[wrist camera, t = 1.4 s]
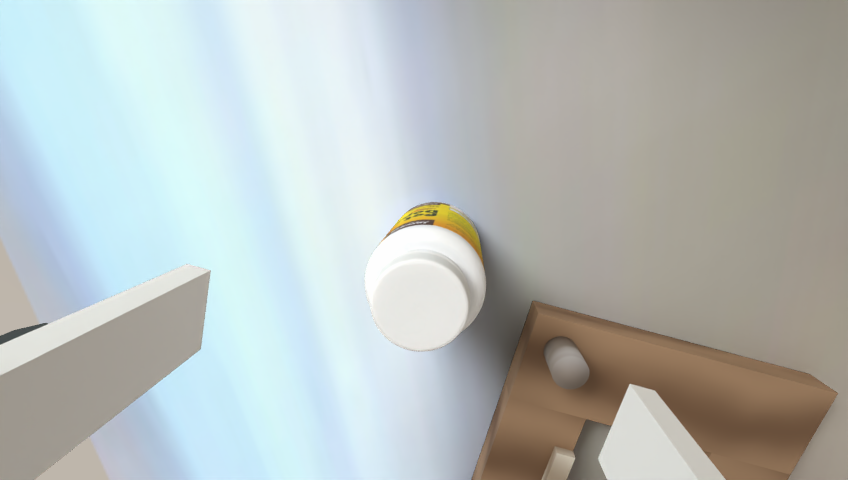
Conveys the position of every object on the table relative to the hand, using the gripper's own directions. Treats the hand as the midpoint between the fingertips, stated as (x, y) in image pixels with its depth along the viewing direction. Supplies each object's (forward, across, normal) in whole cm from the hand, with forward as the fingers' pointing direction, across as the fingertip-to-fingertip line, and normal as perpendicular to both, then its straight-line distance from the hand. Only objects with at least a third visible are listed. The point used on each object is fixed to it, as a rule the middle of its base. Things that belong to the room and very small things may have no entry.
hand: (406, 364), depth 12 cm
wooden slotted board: (+14, +16, -12) cm, 24 cm away
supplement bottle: (+14, 0, 0) cm, 14 cm away
